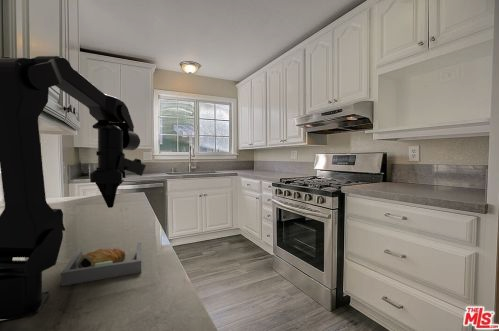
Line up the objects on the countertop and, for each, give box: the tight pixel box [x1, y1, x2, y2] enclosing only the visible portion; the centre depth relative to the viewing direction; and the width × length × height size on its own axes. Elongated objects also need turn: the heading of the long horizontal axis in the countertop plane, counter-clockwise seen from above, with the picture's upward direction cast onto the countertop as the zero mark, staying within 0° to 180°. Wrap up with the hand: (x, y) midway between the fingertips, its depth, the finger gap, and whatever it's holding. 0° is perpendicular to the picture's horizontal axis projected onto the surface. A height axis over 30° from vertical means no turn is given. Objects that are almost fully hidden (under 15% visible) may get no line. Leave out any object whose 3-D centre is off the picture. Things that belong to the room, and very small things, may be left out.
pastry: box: [78, 248, 126, 268], centre depth 55 cm, size 9×7×4 cm
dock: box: [60, 242, 142, 287], centre depth 54 cm, size 13×14×3 cm
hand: (110, 207), depth 62 cm, fingers closed
